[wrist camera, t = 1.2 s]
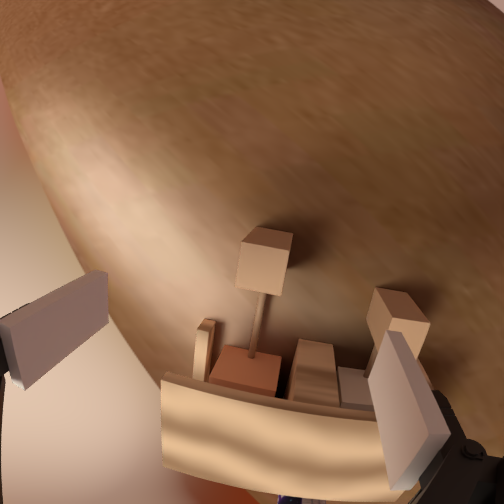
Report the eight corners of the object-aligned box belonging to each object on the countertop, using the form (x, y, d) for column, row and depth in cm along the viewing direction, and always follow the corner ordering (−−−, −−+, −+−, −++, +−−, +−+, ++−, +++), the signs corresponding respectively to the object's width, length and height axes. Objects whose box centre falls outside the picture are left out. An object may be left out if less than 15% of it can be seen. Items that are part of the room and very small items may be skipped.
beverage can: (285, 449, 35) (274, 524, 24) (329, 451, 34) (329, 527, 23) (281, 473, 37) (270, 543, 25) (322, 476, 36) (319, 546, 24)
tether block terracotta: (242, 223, 30) (223, 238, 23) (307, 236, 29) (308, 254, 22) (218, 388, 34) (201, 428, 28) (271, 399, 34) (262, 442, 27)
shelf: (204, 318, 33) (161, 379, 22) (417, 356, 30) (451, 424, 19) (196, 399, 35) (162, 466, 25) (381, 431, 33) (395, 501, 22)
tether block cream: (362, 284, 29) (376, 314, 22) (418, 294, 28) (443, 325, 22) (323, 408, 33) (323, 451, 26) (372, 413, 32) (380, 456, 26)
